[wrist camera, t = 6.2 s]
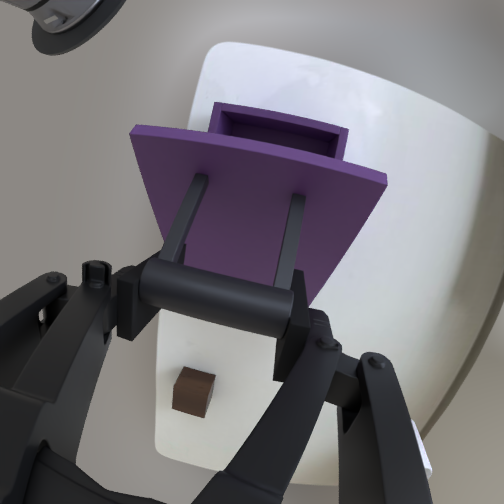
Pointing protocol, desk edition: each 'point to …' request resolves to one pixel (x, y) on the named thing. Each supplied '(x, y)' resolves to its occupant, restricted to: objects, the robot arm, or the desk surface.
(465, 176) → the desk surface
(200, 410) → the block
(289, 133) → the purple box
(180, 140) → the purple hinged box lid
